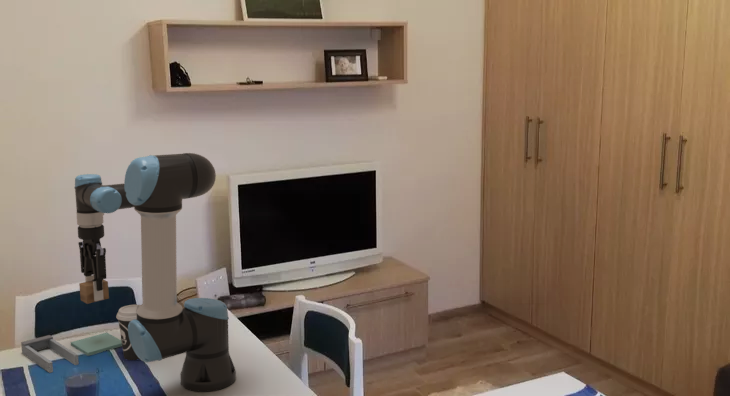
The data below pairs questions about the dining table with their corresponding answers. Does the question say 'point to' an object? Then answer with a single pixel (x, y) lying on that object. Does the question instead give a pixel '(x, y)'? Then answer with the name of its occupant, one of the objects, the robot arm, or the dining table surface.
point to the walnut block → (92, 291)
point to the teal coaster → (97, 344)
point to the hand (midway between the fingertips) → (94, 298)
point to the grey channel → (41, 343)
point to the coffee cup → (124, 319)
